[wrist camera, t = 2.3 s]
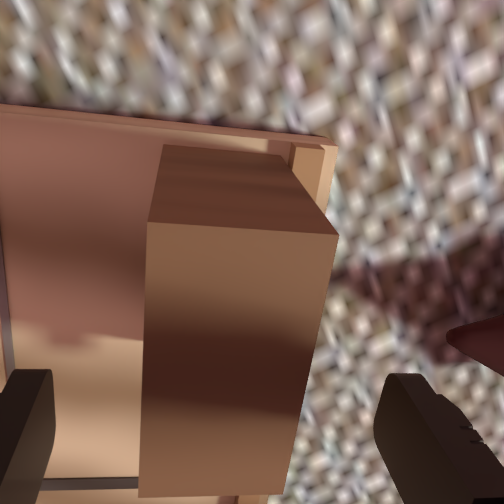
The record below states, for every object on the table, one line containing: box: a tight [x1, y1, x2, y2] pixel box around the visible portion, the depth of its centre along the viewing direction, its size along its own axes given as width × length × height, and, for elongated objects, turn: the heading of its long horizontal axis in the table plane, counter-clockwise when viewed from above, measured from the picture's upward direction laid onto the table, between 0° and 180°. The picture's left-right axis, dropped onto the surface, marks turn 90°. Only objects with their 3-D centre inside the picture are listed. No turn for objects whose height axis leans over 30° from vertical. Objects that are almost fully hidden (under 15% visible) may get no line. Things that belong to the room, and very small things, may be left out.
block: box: [138, 144, 339, 498], centre depth 15 cm, size 9×4×7 cm, turn 173°
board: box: [0, 104, 339, 504], centre depth 20 cm, size 21×14×2 cm, turn 173°
